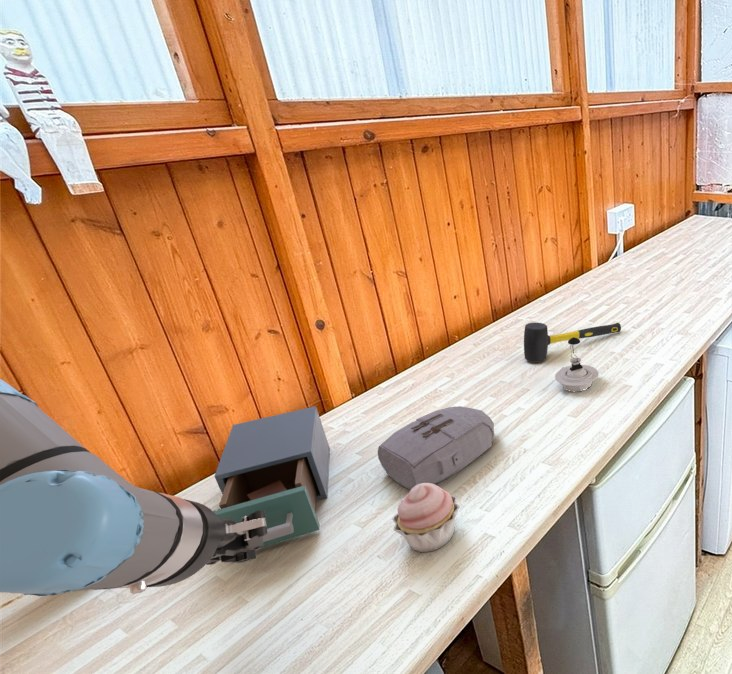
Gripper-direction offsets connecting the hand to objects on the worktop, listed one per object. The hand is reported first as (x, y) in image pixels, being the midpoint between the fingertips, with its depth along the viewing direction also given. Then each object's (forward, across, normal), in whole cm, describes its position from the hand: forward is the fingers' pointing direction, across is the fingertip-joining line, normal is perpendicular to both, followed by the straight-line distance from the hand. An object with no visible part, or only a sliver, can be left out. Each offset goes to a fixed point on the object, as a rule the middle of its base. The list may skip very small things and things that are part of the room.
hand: (247, 549), depth 66 cm
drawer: (+16, 0, +5) cm, 17 cm away
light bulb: (+30, +57, +18) cm, 67 cm away
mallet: (+44, +64, +32) cm, 84 cm away
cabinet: (+25, 0, +12) cm, 28 cm away
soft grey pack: (+21, +26, +8) cm, 34 cm away
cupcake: (+7, +21, -6) cm, 23 cm away
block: (+15, 0, +6) cm, 16 cm away
